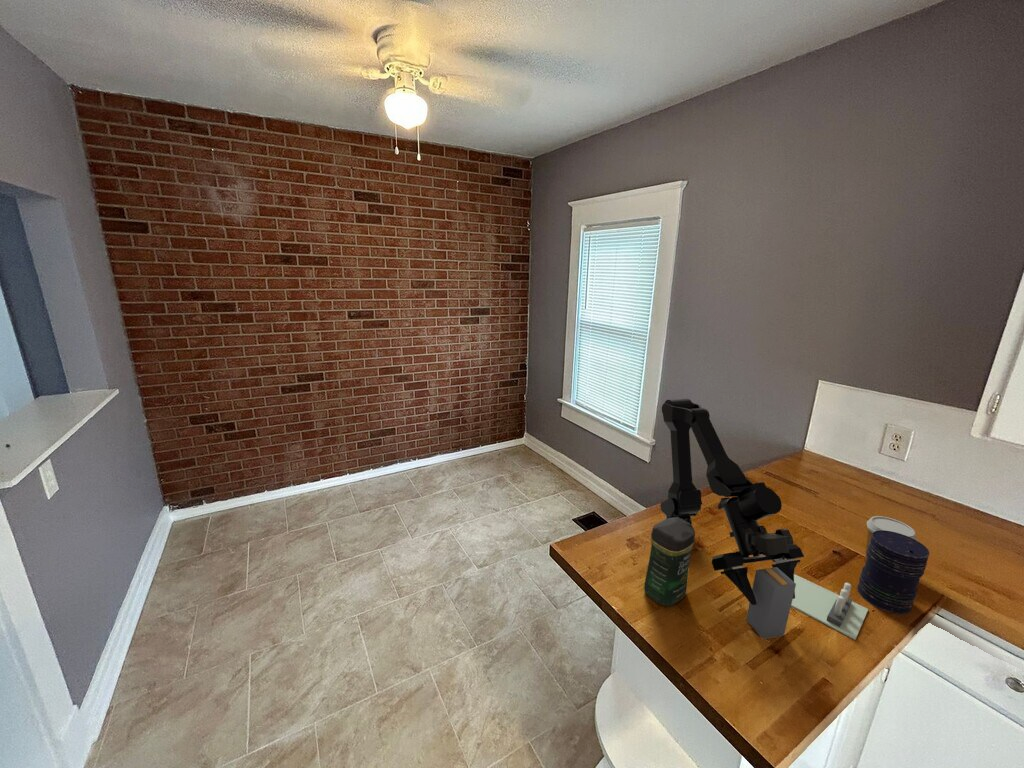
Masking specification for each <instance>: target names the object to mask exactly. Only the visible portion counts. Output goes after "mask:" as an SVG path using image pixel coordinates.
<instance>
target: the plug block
mask: <svg viewBox="0 0 1024 768" xmlns="http://www.w3.org/2000/svg"><path fill="white" fill-rule="evenodd" d="M795 587H796V583H794V582H793V581H792V580H791V579H790V578H789V577H788V576H786V575H785V574H784V573H783V572H782V571H781V570H779V569H778V568H777V567H766V568H760V569H755V573H754V577H753V584H752V587H751V588H752V590H753V593H754V596H755V599H756V603H757V604H756V605H752V604H751V603H750V602H749V604H748V608H747V614H746V617H745V620H746V622H747V623H748V624H749V625H750V626H751V627H752V628H753V629H754V630H755V632H756V633H757V634H758V635H759V636H760V637H761V638H762V639H763V640H765V639H773V638H776V637H783V636H785V632H786V629H787V624H788V620H789V615H790V612H791V608H792V607H791V604H792V599H793V595H794V591H795Z"/></svg>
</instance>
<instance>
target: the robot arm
mask: <svg viewBox="0 0 1024 768" xmlns="http://www.w3.org/2000/svg"><path fill="white" fill-rule="evenodd" d="M661 413H662V417H663V422H664V423H665V425H666V426H667V428H668V430H669V431H670V445H671V448H670V449H671V459H672V461H671V462H672V479H673V481H672V482H671V483H672V484H671V485H670V487H669V489H668V490H667V491H668V492H667V499H666V500H663V501H661V502H660V511H662V513H663V515H665V516H664V517H665V519H668V518H673V517H679V518H681V519H683V520H684V521H686V522H688V523H690V524H691V525H692V526H693V522H692V517H696V516H697V515H698V513H699V512H700V511H701V509H702V505H703V501H702V491H701V489H698V488H697V487H696V485H695V484H694V483H693V470H692V456H691V455H692V453H691V437H690V430H691V431H692V433H693V434H694V437H695V439H696V442H697V444H698V447H699V448H700V450H701V452H702V455H703V457H704V459H705V461H706V465H707V468H706V473H705V475H706V478H707V481H708V485H709V488H710V490H711V491H712V493H713V494H715V495H717V496H719V497H721V498H720V501H719V502H718V503H717V504H718V505H717V510H723V511H724V513H725V515H726V518H727V521H728V524H729V527H730V529H731V531H730V532H728V534H729V537H730V538H734V540H735V543H736V545H737V548H738V550H737V551H735V552H733V551H732V552H729V553H728V552H727V553H722V554H717V555H714V556H712V560H711V565H712V568H713V570H714V571H720V570H723V571H720V572H719V573H720V574H721V575H725V576H726V577H727V579H728V580H729V581H731V582H732V583H733V584H734V585H735V586H736V587H737V589H738V590H739V591H740V592H741V594H742V595H743V596H744V597H745V599H747V601H748V602H749V603H751V604H752V605H756V604H757V603H756V599H755V596H754V593H753V590H752V588H753V587H752V586H751V583H750V579H749V578H748V577H749V576H748V570H749V567H748V566H746V567H744V564H750V563H751V564H752V563H757V562H766V561H771V562H772V563H773V564H771V568H773V567H777V568H778V569H779V570H781V571H782V572H783V573H784V574H785V575H786V576H788V577H789V578H790V579H791V580H792V581H793V582H794V574H795V569H796V567H797V565H798V564H799V563H801V558H805V555H804V553H803V551H802V549H801V547H800V546H798V545H797V544H796V543H795V544H794V538H793V536H792V534H791V532H790V530H789V529H788V528H778V529H776V530H775V532H769V531H767V528H766V527H765V526H764V525H760V524H759V522H758V520H761V519H762V520H763V519H765V518H767V517H770V516H773V515H776V514H778V513H780V511H781V510H782V504H783V503H782V500H781V498H780V496H779V495H778V494H777V493H776V492H775V491H774V490H773V489H772V488H770V487H767V486H766V483H765V482H764V481H761V482H755V483H753V482H752V481H751V480H749V478H748V477H746V475H745V474H744V472H743V470H742V469H741V468H740V466H739V465H738V464H737V463H736V462H735V461H733V460H732V459H731V458H730V457H729V456H728V454H727V452H726V451H725V448H724V446H723V444H722V442H721V440H720V438H719V436H718V434H717V431H716V430H715V428H714V426H713V423H712V420H711V418H710V412H709V410H708V409H706V408H703V407H702V405H701V404H699V403H695V402H693V401H692V400H691V399H690V398H675V399H666V400H665V401H664V403H663V404H662V406H661ZM665 519H664V520H665ZM793 599H795V591H794V595H793Z"/></svg>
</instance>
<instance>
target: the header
mask: <svg viewBox="0 0 1024 768" xmlns="http://www.w3.org/2000/svg"><path fill="white" fill-rule="evenodd" d="M794 583H796V587H795V599H792V604H791V608H793V609H795V610H798V611H799V612H801V613H803V614H804V615H806V616H809V617H810V618H813V619H815V620H816V621H818V622H819V623H822V624H824V625H825V626H828V627H829V628H831V629H833V630H834V631H837V632H838V633H841V634H842V635H845V636H847V637H848V638H851V639H852V640H854V641H856V639H857V638H858V636H859V635H858V634H859V633H860V630H861V628H862V626H863V623H864V621H865V618H866V616H867V614H868V611H869V608H867V607H864V606H863V605H860V604H858V603H856V602H854V601H853V599H852V598H851V597H850V593H851V589H852V584H851V583H849V582H845V583H844V584H843V588H841V589H840V593H835V592H833V591H832V590H829V589H827V588H825V587H823V586H820V585H819V584H816V583H814V582H812V581H811V580H810V581H809V580H808V579H805V578H803V577H802V576H799V575H797V574H795V573H794Z"/></svg>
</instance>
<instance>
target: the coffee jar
mask: <svg viewBox="0 0 1024 768" xmlns="http://www.w3.org/2000/svg"><path fill="white" fill-rule="evenodd" d="M651 529H652V530H651V534H650V544H651V547H650V552H649V560H648V565H647V568H646V569H647V571H646V573H645V574H646V575H645V580H644V585H643V589H644V592H645V593H646V595H647V596H648V597H649V598H650V599H652V600H653V601H654V602H655V603H658V604H660V605H662V606H667V607H670V606H672V605H674V604H676V603H678V602H680V601H681V600H682V599H683V598H684V597H685V596H686V593H687V589H688V588H687V587H688V579H689V569H690V560H691V555H692V550H693V548H694V547H693V546H694V544H695V537H696V531H695V528H694V527H693V524H692V525H691V524H690V523H688V522H686V521H684V520H683V519H681V518H679V517H673V518H668V519H663V520H661V521H659V522H657V523H656V524H654V525H653V527H652V528H651Z"/></svg>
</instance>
